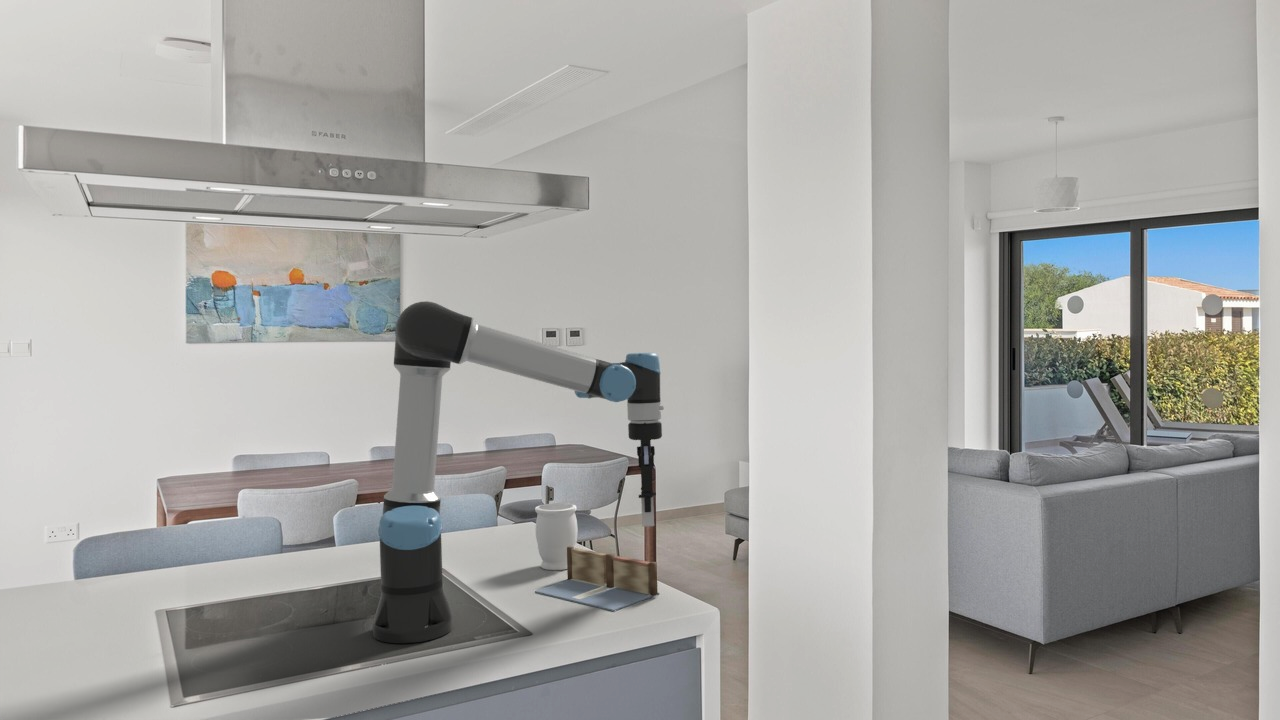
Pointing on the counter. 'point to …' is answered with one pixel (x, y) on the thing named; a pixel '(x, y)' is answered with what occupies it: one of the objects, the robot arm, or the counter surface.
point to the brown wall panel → (590, 566)
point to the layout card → (594, 594)
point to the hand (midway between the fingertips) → (648, 525)
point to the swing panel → (635, 575)
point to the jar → (555, 533)
